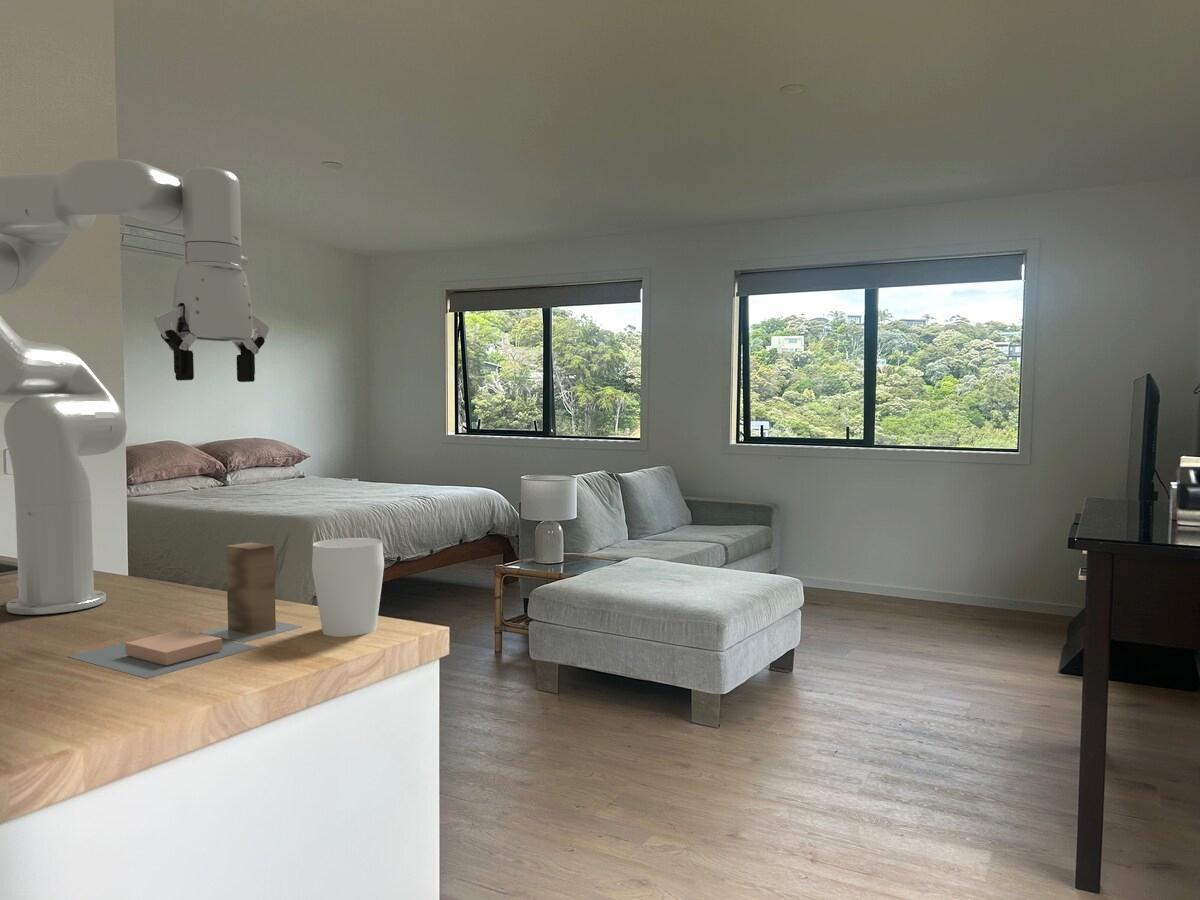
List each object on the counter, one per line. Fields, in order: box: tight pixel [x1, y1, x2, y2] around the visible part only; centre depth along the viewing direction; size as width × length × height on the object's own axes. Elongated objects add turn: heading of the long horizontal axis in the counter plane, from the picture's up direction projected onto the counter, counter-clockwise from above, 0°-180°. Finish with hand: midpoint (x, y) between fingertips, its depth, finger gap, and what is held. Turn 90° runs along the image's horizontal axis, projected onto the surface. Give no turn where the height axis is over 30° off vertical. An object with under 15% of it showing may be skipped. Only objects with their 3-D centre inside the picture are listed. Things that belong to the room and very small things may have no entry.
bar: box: [225, 541, 276, 635], centre depth 113 cm, size 5×4×11 cm
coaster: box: [199, 621, 304, 644], centre depth 113 cm, size 9×9×1 cm
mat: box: [67, 638, 260, 680], centre depth 103 cm, size 16×14×1 cm
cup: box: [311, 537, 385, 638], centre depth 113 cm, size 9×9×12 cm
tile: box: [124, 629, 223, 666], centre depth 102 cm, size 2×7×8 cm
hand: (216, 380), depth 124 cm, fingers open, 9 cm apart
